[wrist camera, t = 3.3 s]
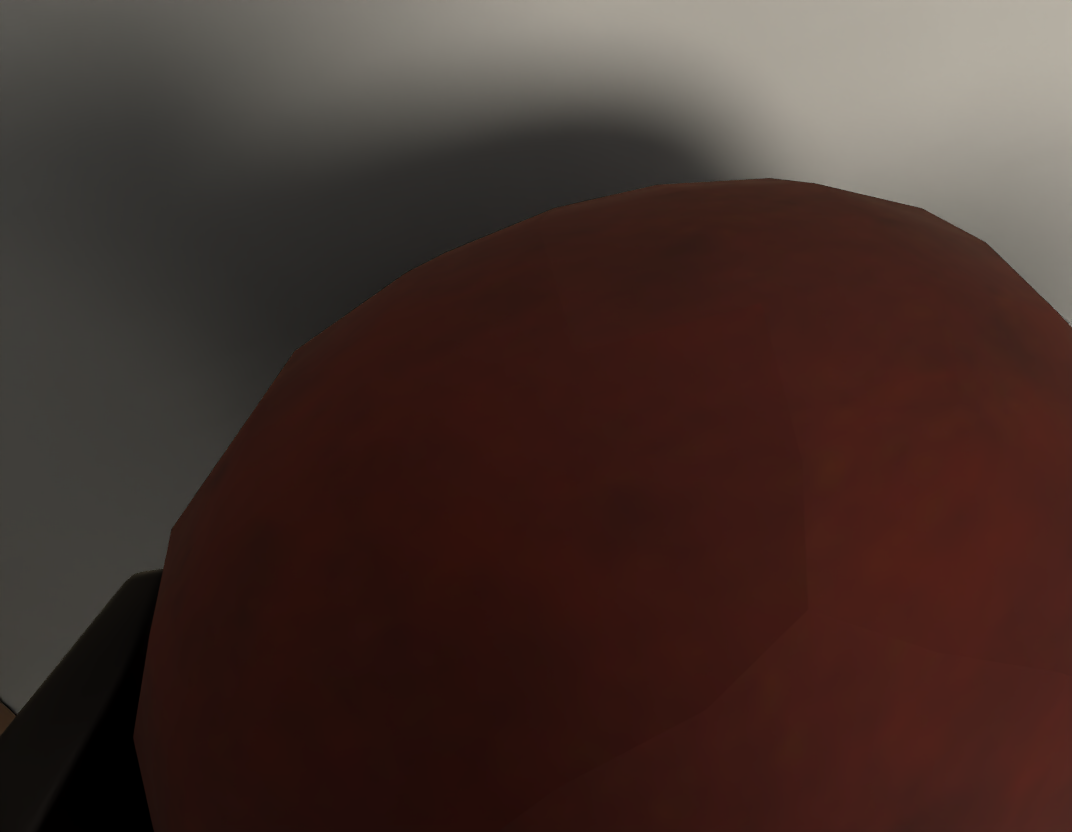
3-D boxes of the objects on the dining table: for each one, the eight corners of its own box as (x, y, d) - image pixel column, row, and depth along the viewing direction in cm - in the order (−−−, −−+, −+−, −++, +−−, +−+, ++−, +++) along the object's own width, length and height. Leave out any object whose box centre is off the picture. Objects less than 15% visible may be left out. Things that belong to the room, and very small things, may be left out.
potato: (1127, 238, 9) (1745, 896, 5) (572, 721, 15) (630, 1229, 11) (475, -202, 6) (564, 458, 2) (90, 605, 12) (-108, 1241, 8)
